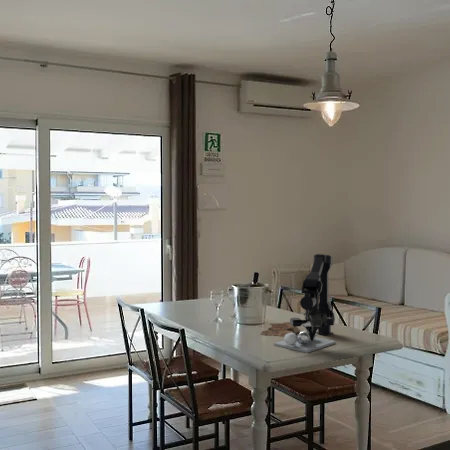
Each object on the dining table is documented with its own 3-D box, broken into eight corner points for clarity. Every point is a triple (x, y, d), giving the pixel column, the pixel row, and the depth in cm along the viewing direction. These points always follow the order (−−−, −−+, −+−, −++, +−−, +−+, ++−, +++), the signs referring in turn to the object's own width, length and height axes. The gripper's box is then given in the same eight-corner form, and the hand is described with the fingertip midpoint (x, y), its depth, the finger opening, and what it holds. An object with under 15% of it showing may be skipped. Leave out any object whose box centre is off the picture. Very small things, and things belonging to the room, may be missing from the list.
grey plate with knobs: (303, 336, 267) (303, 323, 267) (335, 343, 255) (335, 329, 255) (273, 345, 250) (274, 330, 250) (307, 352, 238) (307, 337, 238)
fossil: (283, 339, 263) (283, 329, 263) (255, 334, 273) (255, 325, 272) (303, 331, 279) (303, 322, 279) (275, 327, 288) (276, 318, 288)
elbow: (302, 336, 262) (302, 325, 261) (318, 338, 258) (319, 327, 258) (293, 343, 248) (293, 332, 248) (310, 345, 245) (310, 334, 245)
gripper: (296, 309, 237) (296, 346, 237) (338, 308, 240) (338, 344, 240) (289, 305, 248) (289, 340, 248) (329, 304, 251) (329, 338, 251)
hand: (311, 340), depth 247 cm, fingers closed
